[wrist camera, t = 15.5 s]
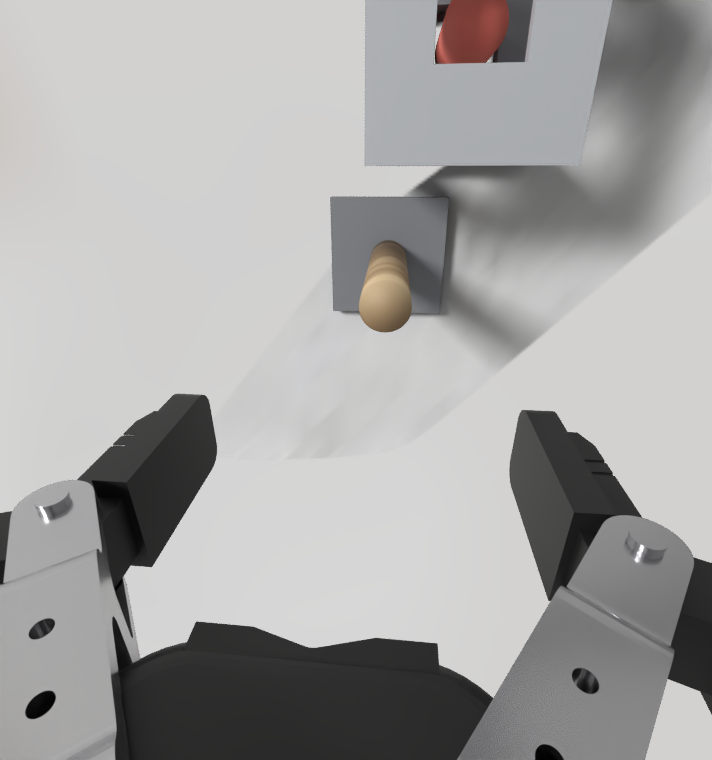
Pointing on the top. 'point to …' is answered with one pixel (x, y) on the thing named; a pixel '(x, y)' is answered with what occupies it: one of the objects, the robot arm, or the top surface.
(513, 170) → the top surface
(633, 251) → the top surface
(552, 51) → the grey open cage
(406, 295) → the oak dowel
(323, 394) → the top surface
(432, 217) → the pad
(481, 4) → the plunger
